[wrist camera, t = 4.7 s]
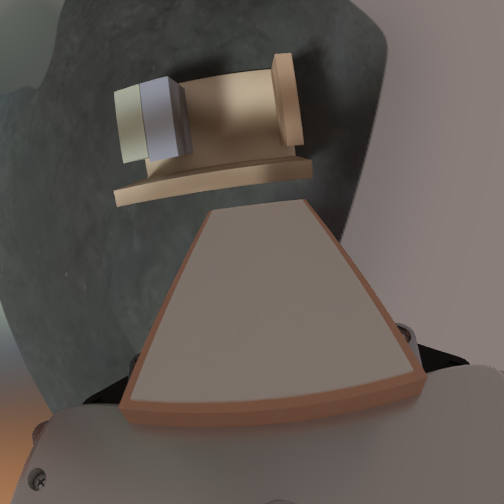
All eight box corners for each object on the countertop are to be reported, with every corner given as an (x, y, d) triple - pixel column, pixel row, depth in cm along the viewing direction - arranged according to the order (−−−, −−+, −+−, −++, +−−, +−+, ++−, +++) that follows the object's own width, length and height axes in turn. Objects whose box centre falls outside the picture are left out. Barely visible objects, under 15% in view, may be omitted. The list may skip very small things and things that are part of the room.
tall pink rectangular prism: (209, 209, 15) (117, 406, 4) (305, 197, 15) (428, 375, 4) (229, 313, 17) (210, 509, 6) (310, 304, 17) (362, 495, 6)
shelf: (138, 95, 23) (98, 82, 16) (283, 69, 22) (294, 41, 15) (152, 188, 27) (117, 206, 19) (296, 168, 26) (313, 177, 18)
